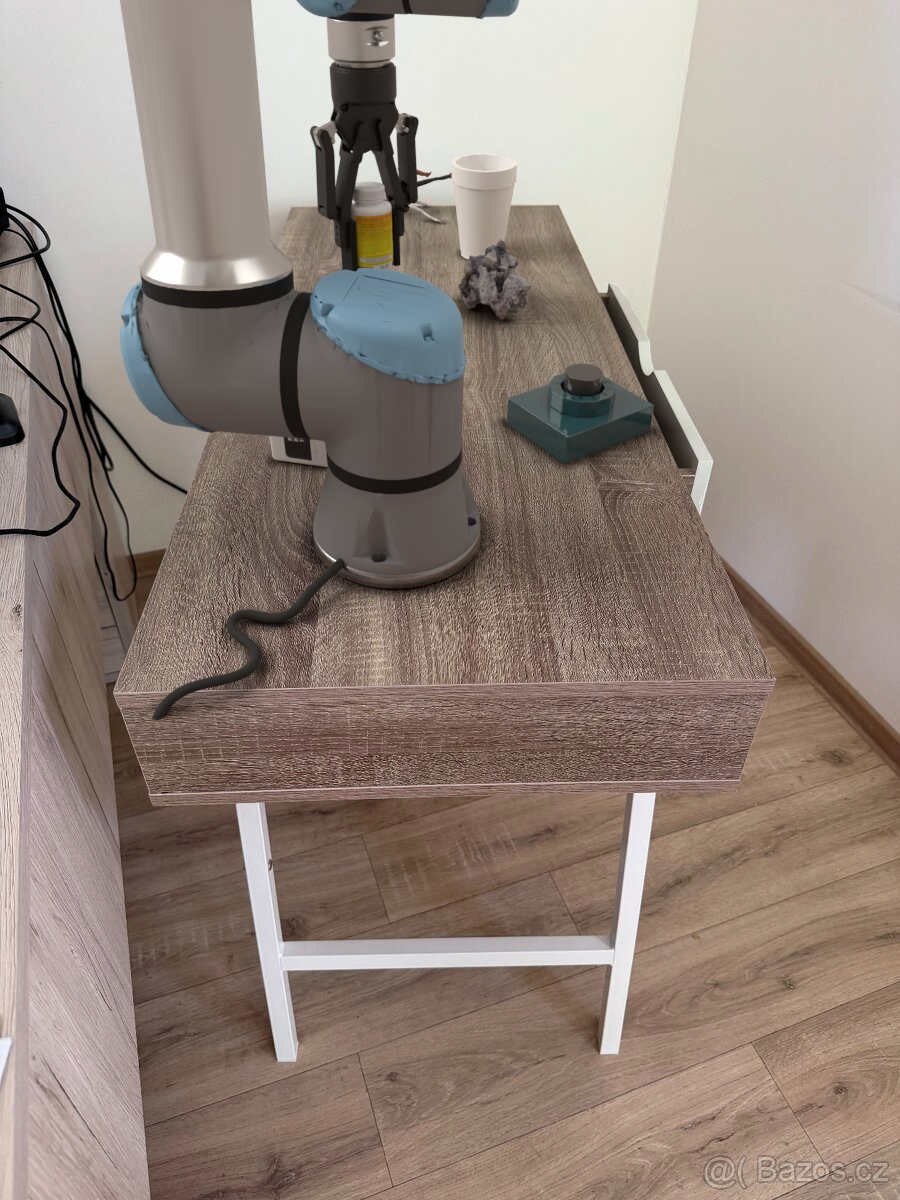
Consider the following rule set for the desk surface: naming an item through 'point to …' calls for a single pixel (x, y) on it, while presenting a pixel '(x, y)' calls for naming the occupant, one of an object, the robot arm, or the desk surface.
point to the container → (299, 450)
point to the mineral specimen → (494, 281)
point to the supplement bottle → (372, 226)
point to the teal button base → (578, 418)
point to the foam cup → (482, 199)
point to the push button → (583, 380)
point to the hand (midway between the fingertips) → (371, 267)
